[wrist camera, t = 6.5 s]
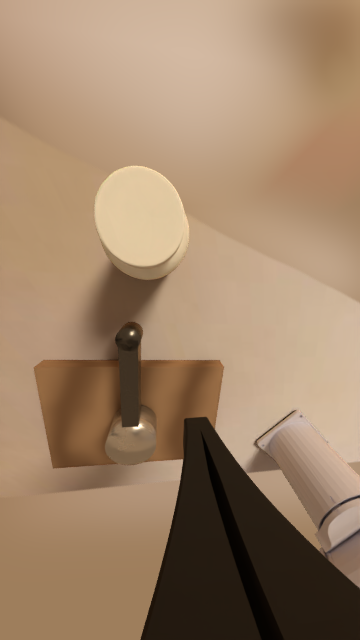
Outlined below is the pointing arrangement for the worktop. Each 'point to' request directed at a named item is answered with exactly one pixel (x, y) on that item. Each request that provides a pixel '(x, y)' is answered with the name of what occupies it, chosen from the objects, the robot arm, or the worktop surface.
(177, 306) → the worktop surface
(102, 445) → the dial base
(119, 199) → the supplement bottle
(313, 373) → the worktop surface
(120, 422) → the round-headed handle tool
